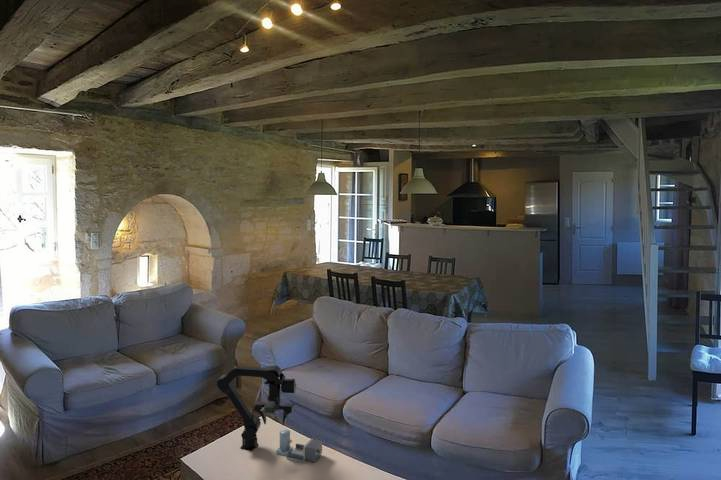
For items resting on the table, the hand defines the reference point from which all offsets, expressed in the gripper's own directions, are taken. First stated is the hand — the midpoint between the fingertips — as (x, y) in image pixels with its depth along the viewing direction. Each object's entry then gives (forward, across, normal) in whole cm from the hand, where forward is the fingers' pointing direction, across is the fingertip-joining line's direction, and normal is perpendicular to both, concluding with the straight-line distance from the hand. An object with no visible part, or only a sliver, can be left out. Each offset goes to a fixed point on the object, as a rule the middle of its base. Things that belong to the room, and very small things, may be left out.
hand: (274, 424), depth 237 cm
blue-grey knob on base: (+13, +5, 0) cm, 14 cm away
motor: (+13, +17, -2) cm, 21 cm away
